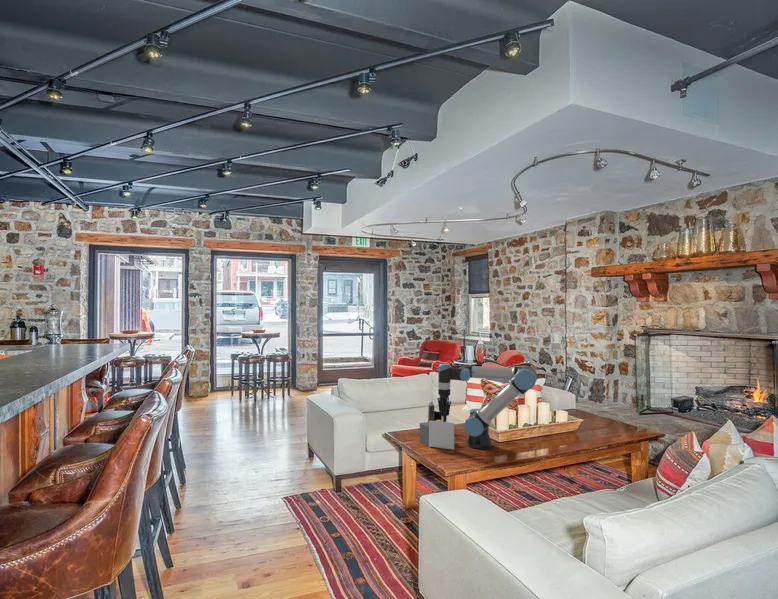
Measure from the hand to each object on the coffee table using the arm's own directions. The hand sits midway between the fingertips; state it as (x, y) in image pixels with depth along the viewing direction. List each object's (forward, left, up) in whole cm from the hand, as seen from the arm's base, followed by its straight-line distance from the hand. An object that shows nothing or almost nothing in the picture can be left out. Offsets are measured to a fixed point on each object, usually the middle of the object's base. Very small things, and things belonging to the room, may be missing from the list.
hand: (443, 426), depth 292 cm
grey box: (+12, -1, -14) cm, 18 cm away
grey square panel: (-1, +2, -13) cm, 13 cm away
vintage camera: (+32, -17, -14) cm, 39 cm away
